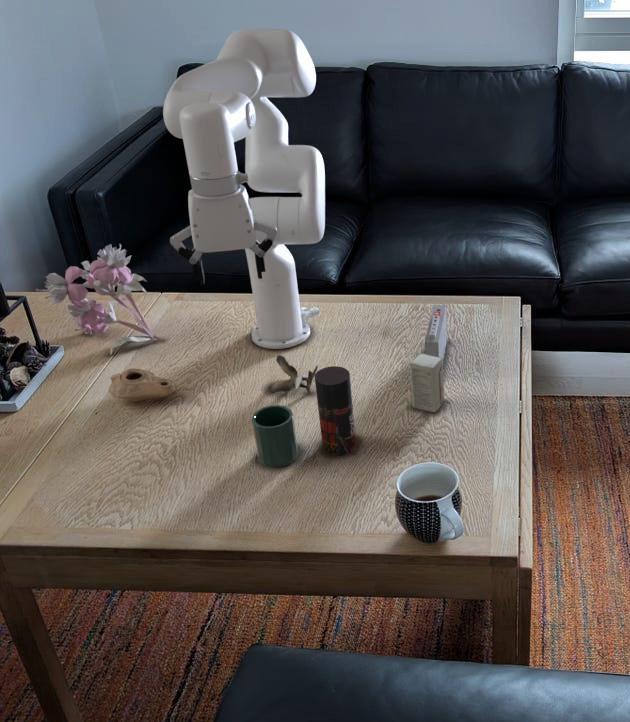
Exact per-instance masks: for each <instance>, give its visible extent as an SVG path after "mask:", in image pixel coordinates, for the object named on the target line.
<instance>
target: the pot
mask: <svg viewBox="0 0 630 722" xmlns="http://www.w3.org/2000/svg"><path fill="white" fill-rule="evenodd" d="M251 423H252V430H253V436H254V442H255V448H256V453H257V457H258V461H259V463H260V464H261V465H262V466H264V467H268V468H273V469H274V468H282V467H283V468H284V467H286V466H288V465H291V464H292V463H293V462H294V461H295V460H296V459H297V457H298V456H299V455H298V454H299V451H298V450H299V447H298V442H297V435H296V427H295V419H294V413H293V411H292V410H291V408H289V407H287V406H284V405H281V404H277V405H276V404H273V405H267V406H264V407H261V408H260V409H257V410H256V411H255V412H254V413H253V414H252V417H251Z"/></svg>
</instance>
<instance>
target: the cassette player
mask: <svg viewBox="0 0 630 722" xmlns="http://www.w3.org/2000/svg"><path fill="white" fill-rule="evenodd" d="M447 330H448V329H447V305H445V304H444V305H443V304H442V305H441V304H433V305H432V310H431V314H430V318H429V323H428V326H427V331H426V336H425V340H424V354H428V355H433V356H437V357H441V358H443V359H444V358H445V353H446V347H447V342H448V340H447V335H448V334H447V333H448V332H447Z"/></svg>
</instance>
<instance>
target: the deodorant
mask: <svg viewBox="0 0 630 722" xmlns="http://www.w3.org/2000/svg"><path fill="white" fill-rule="evenodd" d="M349 371H350V370H348V369H347V368H346V367H342V366H339V365H337V366H336V365H333V366H326V367H323V368H321V369H319V370H317V371H316V373H315V376H314V382H315V392H316V393H315V394H316V400H317V401H316V402H317V408H318V418H319V419H318V420H319V427H320V435H321V443H322V450H323V451H324V452H325V453H326V454H327V455H330V456H335V457H336V456H337V457H338V456H340V457H341V456H344V455H347V454H350V453H352V452H353V451H354V450H355V448H356V446H357V440H356V431H355V418H354V408H353V396H352V395H353V394H352V385H351V374H350V372H349Z"/></svg>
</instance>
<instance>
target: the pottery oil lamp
mask: <svg viewBox="0 0 630 722" xmlns="http://www.w3.org/2000/svg"><path fill="white" fill-rule="evenodd" d="M110 381H111V383H110V385H109V387H108V392H109V394H110V395H111V396H112V397H114V398H117V399H122V400H127V401H129V402H134V403H136V402H143V401H146V400H148V399H152V398H161V397H166V396H169V395H171V394H173V392H174V391H175V389H176V387H175V384H174V382H173V381H171V380H169V379H166V378H163V377H160V376H157V375H155V374H154V373H153V372H151V371H150V370H147V369H142V368H135V367H134V368H128V369H126V370H124V371H123V372H121V373H120V372H119V373H115V374H113V375H111V376H110Z"/></svg>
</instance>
